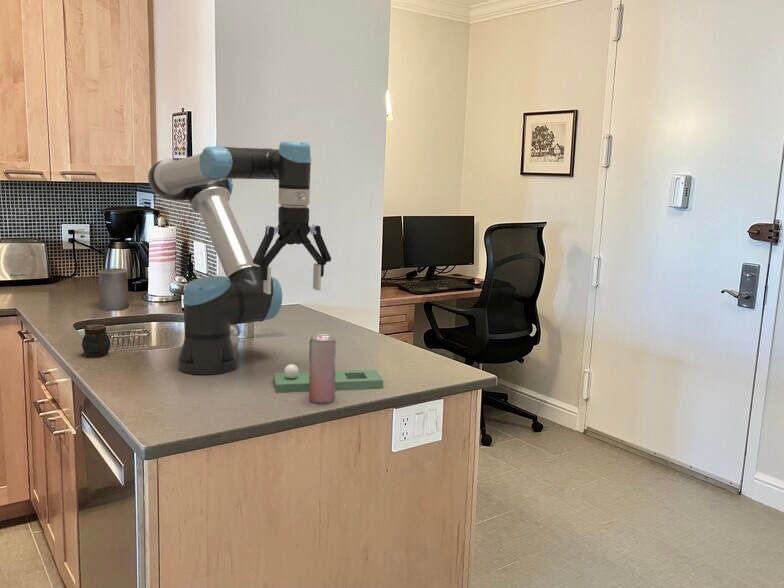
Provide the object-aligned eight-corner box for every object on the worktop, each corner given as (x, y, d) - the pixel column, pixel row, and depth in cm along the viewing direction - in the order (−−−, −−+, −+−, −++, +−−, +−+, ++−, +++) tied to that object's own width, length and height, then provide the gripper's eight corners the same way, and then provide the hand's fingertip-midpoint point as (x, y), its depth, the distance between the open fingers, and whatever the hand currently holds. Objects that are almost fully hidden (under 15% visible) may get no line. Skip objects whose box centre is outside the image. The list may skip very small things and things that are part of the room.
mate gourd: (115, 355, 192) (114, 320, 190) (88, 360, 187) (86, 324, 185) (104, 349, 197) (102, 315, 195) (76, 355, 192) (74, 319, 190)
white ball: (284, 380, 169) (284, 366, 168) (283, 376, 172) (283, 362, 171) (299, 380, 170) (299, 366, 169) (297, 375, 173) (297, 362, 172)
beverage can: (309, 395, 165) (310, 333, 162) (334, 395, 165) (335, 334, 163) (308, 404, 159) (309, 340, 156) (334, 404, 159) (336, 340, 157)
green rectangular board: (276, 392, 166) (276, 384, 166) (273, 381, 175) (273, 373, 174) (382, 388, 172) (383, 380, 172) (375, 377, 181) (375, 369, 180)
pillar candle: (118, 304, 258) (116, 263, 255) (134, 307, 252) (132, 266, 249) (94, 308, 250) (91, 266, 247) (110, 312, 245) (107, 270, 242)
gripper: (251, 207, 161) (251, 297, 165) (346, 207, 175) (343, 290, 179) (239, 204, 167) (239, 291, 172) (331, 204, 181) (329, 285, 185)
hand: (292, 291), depth 175 cm, fingers open, 13 cm apart
